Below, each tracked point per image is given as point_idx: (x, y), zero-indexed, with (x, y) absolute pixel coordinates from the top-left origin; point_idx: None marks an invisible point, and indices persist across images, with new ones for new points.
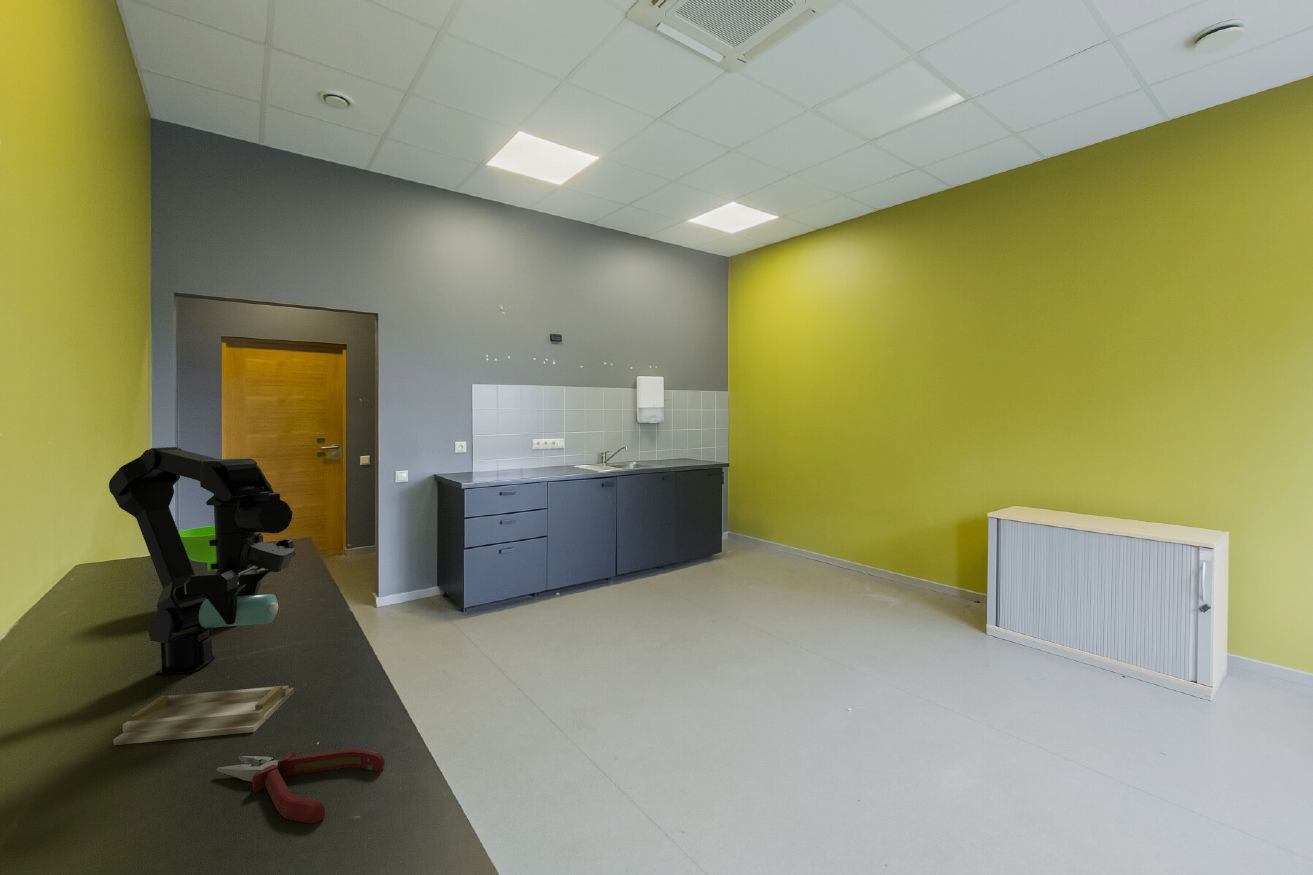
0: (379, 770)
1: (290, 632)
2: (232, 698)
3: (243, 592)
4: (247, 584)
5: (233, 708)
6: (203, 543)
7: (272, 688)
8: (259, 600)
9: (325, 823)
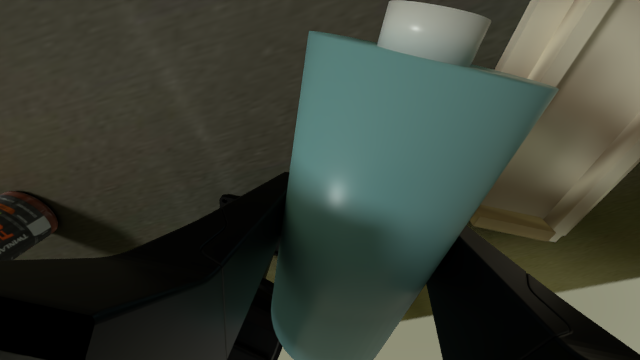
0: None
1: (70, 79)
2: None
3: (249, 283)
4: (218, 323)
5: (603, 72)
6: None
7: None
8: (509, 146)
9: None
